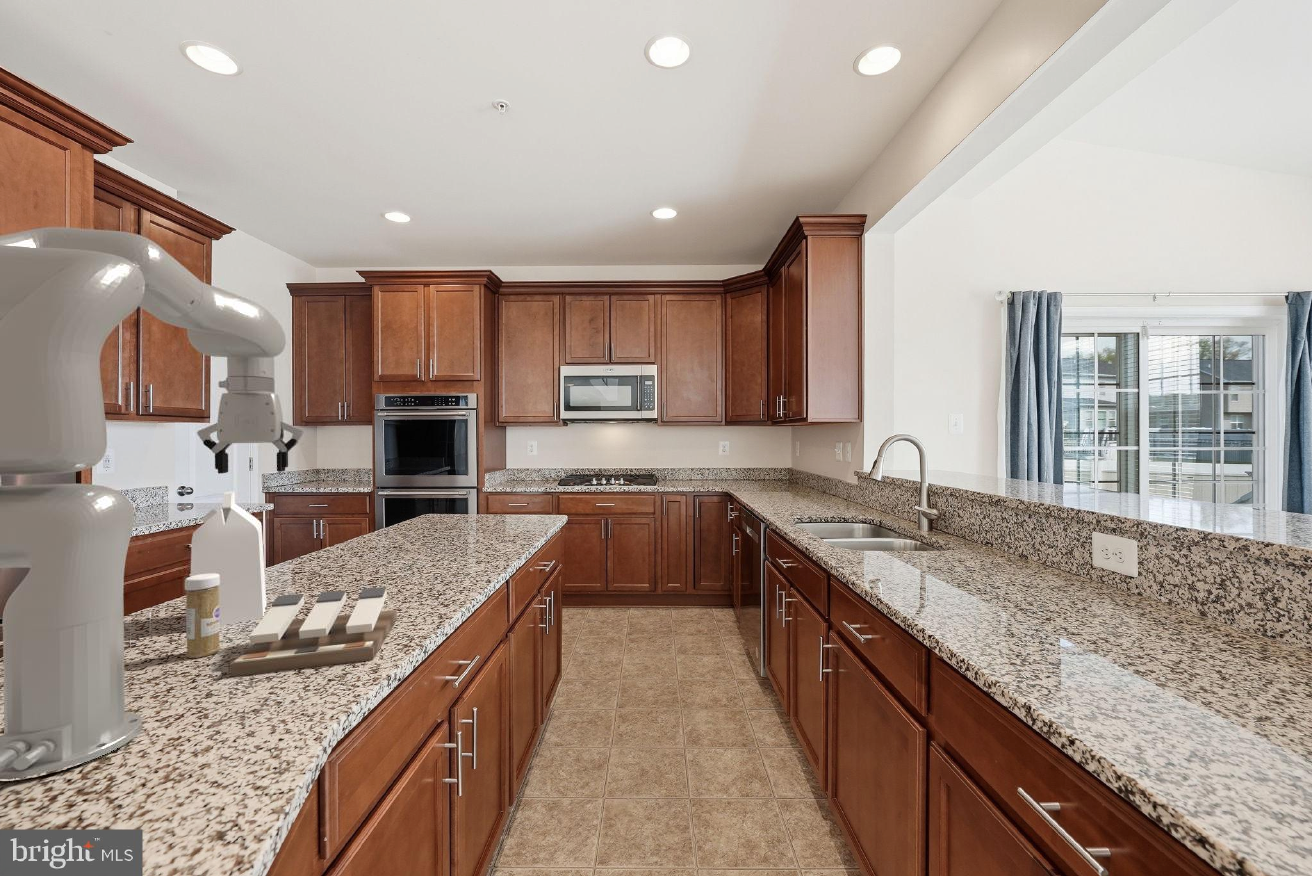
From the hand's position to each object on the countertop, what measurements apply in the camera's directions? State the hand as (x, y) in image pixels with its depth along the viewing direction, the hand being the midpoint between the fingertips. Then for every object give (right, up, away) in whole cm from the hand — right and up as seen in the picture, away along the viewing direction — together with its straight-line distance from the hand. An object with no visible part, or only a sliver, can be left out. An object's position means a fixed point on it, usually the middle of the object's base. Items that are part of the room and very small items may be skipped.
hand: (252, 472), depth 105 cm
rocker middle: (+22, -25, -12) cm, 35 cm away
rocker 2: (+29, -25, -10) cm, 39 cm away
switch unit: (+22, -30, -12) cm, 39 cm away
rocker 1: (+15, -25, -14) cm, 32 cm away
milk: (-7, -31, +4) cm, 32 cm away
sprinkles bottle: (+3, -31, -15) cm, 34 cm away
